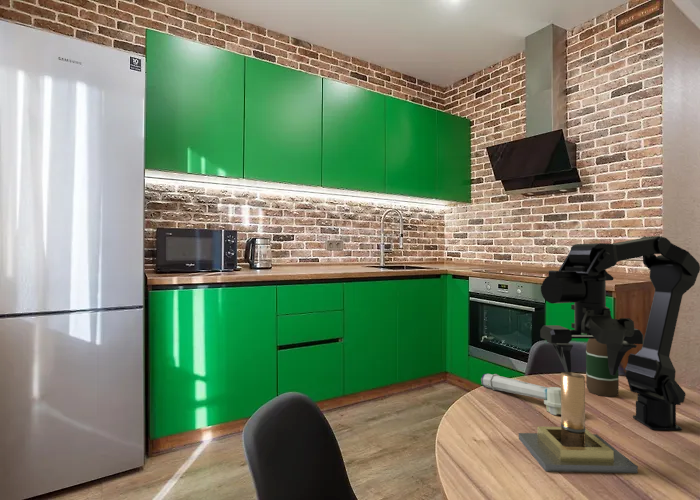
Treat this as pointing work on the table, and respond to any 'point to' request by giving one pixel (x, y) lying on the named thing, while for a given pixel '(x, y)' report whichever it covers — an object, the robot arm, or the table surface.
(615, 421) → the table surface
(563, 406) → the tube
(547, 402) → the light grey long piece
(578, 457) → the framed base plate
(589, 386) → the beer bottle
